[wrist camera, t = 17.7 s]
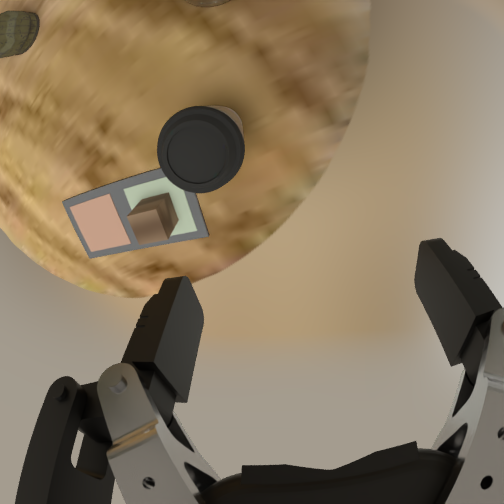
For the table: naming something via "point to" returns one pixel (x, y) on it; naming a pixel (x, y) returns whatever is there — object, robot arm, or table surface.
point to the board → (121, 204)
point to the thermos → (17, 32)
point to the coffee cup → (201, 148)
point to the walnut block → (153, 219)
